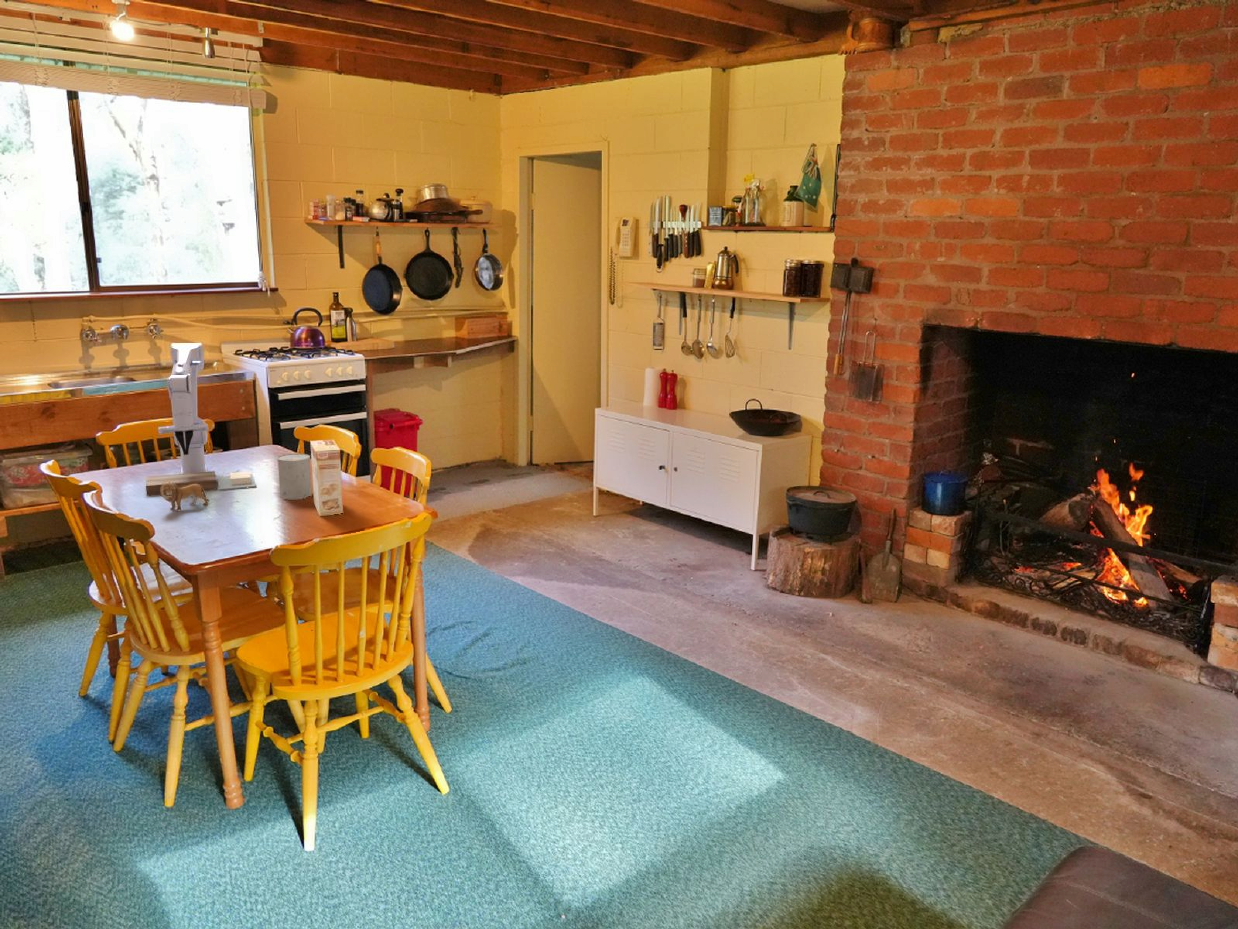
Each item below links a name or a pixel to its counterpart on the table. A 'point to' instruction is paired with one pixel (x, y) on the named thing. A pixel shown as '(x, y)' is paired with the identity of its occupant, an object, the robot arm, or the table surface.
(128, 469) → the table surface
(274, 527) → the table surface
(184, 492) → the lion figurine
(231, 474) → the tile
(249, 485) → the mat
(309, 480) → the grey cylinder
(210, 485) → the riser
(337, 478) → the coffeecake box
